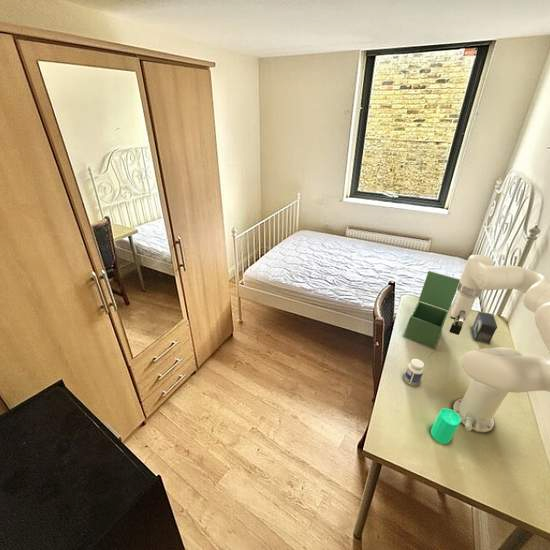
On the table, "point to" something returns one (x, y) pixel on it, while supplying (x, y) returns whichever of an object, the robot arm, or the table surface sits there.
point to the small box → (484, 327)
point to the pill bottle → (414, 372)
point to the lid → (439, 290)
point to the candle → (445, 425)
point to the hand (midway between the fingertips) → (454, 325)
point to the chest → (426, 324)
